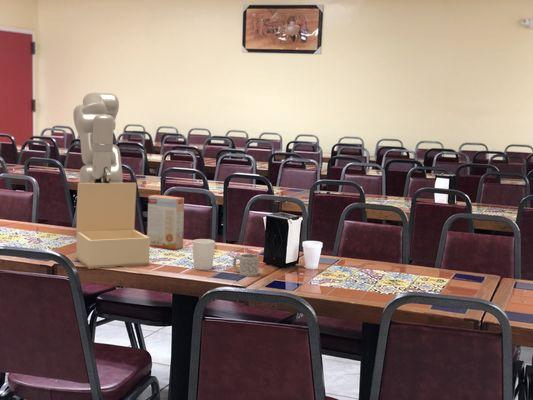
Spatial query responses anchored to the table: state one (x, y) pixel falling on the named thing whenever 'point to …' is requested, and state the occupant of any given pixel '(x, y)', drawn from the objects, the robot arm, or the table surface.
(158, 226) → the cracker box
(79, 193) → the carton lid
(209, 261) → the white cup
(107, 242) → the carton
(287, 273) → the table surface
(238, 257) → the mug
